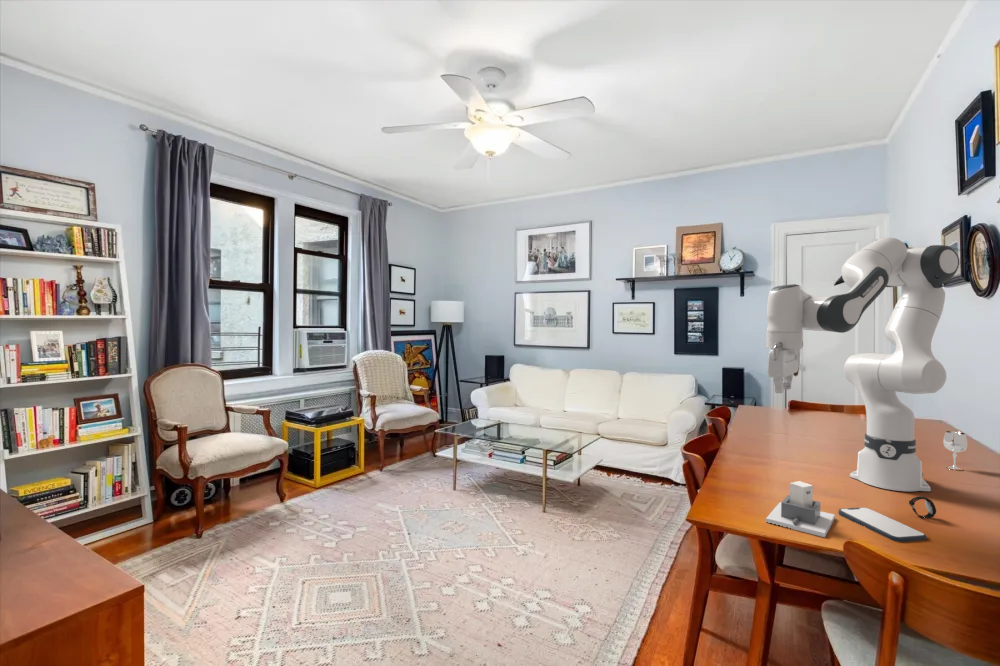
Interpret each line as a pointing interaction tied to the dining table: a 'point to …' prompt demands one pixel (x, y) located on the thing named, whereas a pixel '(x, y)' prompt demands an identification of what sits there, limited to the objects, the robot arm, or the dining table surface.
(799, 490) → the block
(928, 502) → the smartwatch
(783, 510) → the dock
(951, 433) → the wineglass
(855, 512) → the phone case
